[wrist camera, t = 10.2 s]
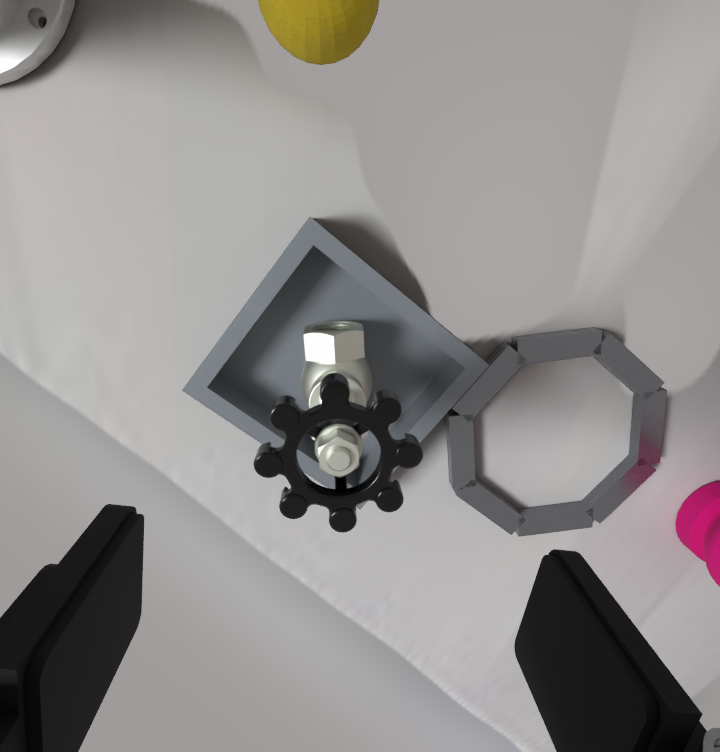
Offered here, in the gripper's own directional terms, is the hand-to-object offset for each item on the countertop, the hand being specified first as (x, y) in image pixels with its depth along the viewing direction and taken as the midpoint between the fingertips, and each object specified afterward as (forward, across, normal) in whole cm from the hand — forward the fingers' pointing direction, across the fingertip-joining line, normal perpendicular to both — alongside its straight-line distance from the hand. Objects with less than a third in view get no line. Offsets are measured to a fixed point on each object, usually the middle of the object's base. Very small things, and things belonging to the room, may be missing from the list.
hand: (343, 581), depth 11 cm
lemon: (+21, +3, -18) cm, 27 cm away
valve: (+20, 0, +1) cm, 20 cm away
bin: (+20, 0, 0) cm, 20 cm away
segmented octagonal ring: (+20, -16, +4) cm, 26 cm away
